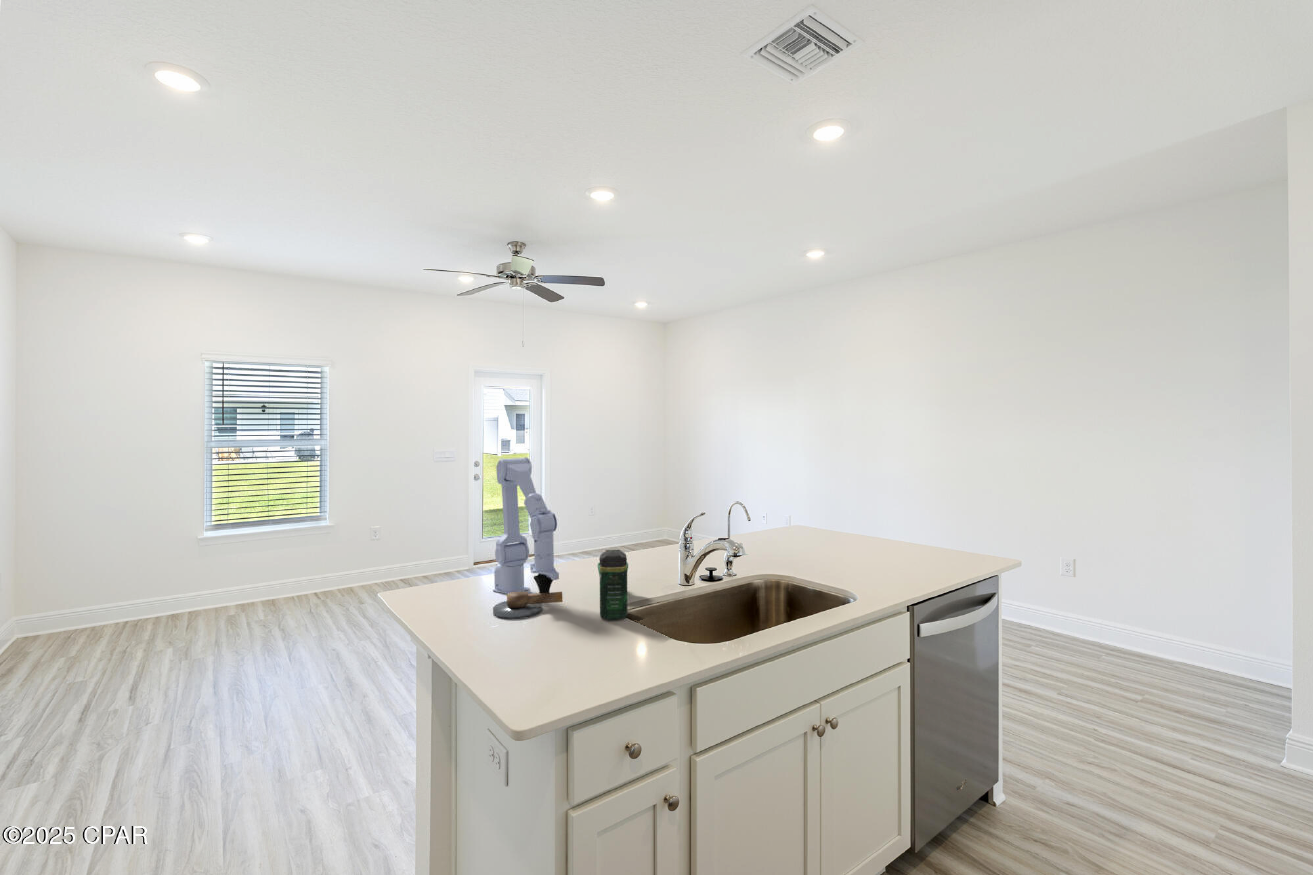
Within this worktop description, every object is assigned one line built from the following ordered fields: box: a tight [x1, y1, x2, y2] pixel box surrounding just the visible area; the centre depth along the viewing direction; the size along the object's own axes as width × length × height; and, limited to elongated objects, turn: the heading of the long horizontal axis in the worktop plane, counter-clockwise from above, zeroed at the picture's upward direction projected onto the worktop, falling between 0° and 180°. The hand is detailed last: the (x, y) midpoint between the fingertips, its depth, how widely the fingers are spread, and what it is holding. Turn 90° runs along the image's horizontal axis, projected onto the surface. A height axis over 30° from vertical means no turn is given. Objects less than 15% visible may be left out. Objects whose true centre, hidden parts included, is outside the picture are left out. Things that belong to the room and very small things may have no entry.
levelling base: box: [492, 600, 543, 620], centre depth 174 cm, size 14×14×2 cm
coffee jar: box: [598, 549, 628, 622], centre depth 168 cm, size 10×8×19 cm
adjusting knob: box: [506, 591, 563, 608], centre depth 175 cm, size 16×6×3 cm, turn 102°
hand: (544, 598), depth 178 cm, fingers closed, pressing on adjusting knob
